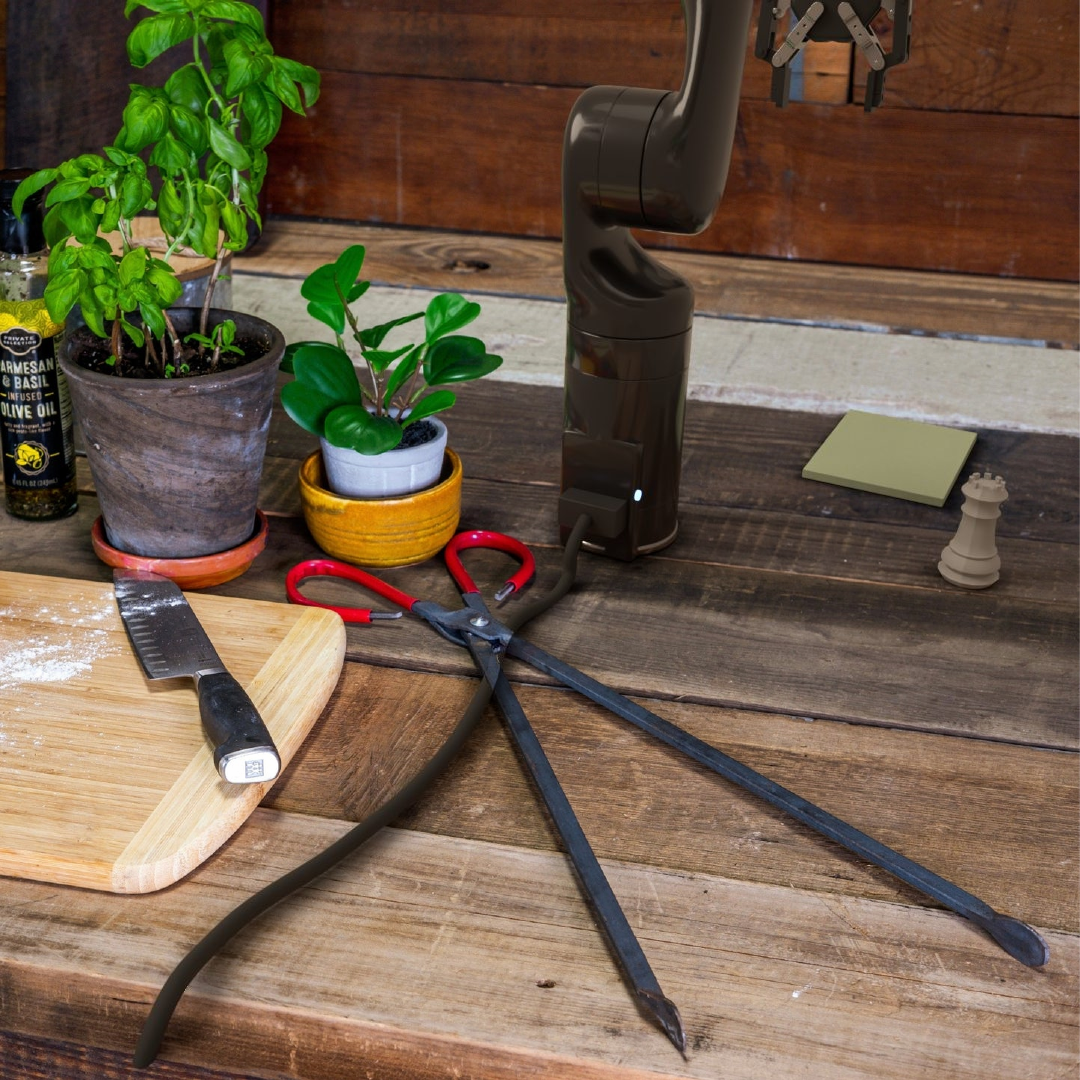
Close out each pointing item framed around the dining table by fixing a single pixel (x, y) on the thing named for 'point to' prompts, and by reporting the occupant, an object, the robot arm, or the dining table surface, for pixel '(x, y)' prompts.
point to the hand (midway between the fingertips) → (825, 110)
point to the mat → (892, 457)
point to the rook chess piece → (975, 535)
